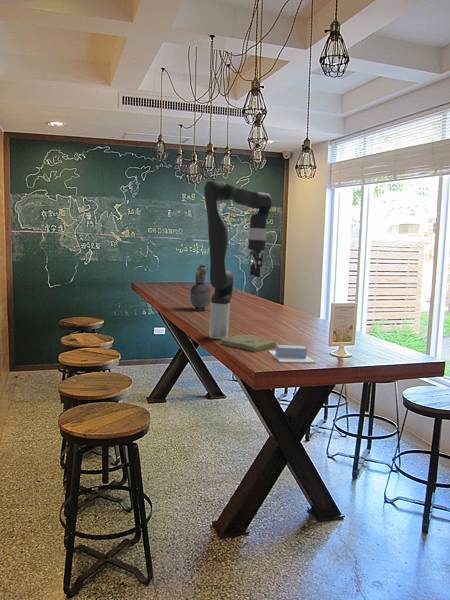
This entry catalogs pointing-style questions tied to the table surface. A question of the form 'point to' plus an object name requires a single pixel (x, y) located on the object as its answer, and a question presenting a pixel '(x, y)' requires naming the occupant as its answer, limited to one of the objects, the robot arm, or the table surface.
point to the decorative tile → (249, 343)
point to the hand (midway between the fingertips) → (254, 276)
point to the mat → (291, 359)
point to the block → (291, 351)
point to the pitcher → (200, 290)
